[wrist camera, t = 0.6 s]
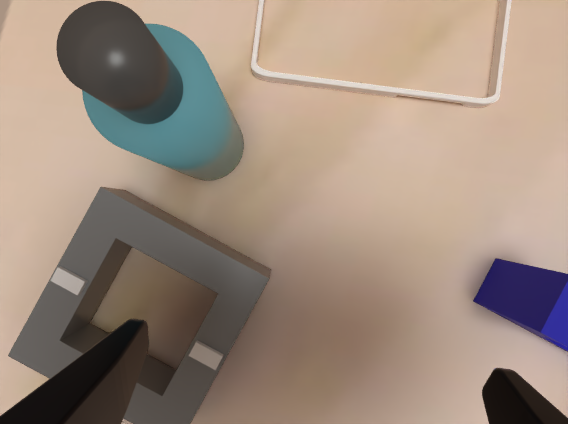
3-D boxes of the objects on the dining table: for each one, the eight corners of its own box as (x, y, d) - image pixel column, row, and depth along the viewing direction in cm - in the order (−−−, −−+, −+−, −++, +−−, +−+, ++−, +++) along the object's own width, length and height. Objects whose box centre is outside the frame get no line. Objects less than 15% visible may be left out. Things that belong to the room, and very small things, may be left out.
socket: (191, 415, 22) (175, 451, 19) (45, 336, 22) (3, 358, 19) (271, 269, 22) (269, 279, 19) (125, 190, 22) (97, 186, 19)
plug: (222, 193, 22) (138, 165, 9) (159, 158, 22) (-15, 81, 9) (256, 130, 22) (221, 14, 9) (193, 96, 22) (69, -70, 9)
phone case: (500, -4, 23) (266, -34, 23) (514, -17, 21) (264, -50, 21) (486, 111, 23) (251, 82, 23) (499, 105, 21) (249, 73, 21)
